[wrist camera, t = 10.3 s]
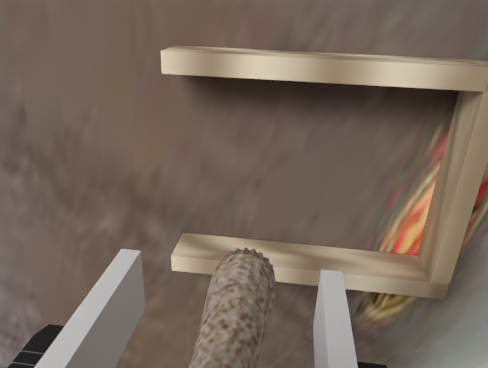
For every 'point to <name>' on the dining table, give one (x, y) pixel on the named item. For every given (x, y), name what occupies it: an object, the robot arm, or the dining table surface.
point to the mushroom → (236, 312)
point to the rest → (446, 188)
